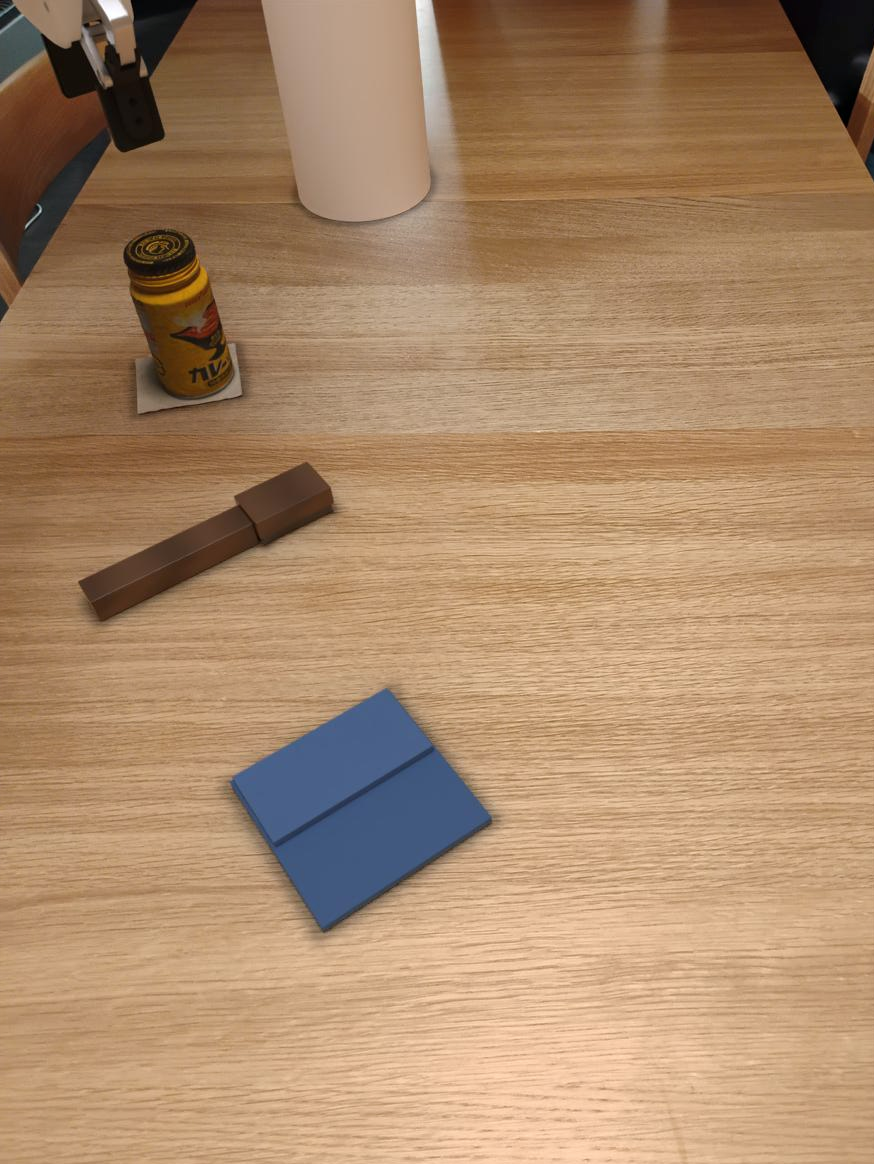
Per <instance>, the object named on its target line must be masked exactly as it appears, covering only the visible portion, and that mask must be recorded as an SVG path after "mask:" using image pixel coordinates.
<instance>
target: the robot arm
mask: <svg viewBox="0 0 874 1164" xmlns="http://www.w3.org/2000/svg"><path fill="white" fill-rule="evenodd" d="M11 1H12V3H13V5H14V6H15V8H16V9H17V10H18V11H19V13H20V14H22V15H23V16H24V17H25V18H26V19H27V20H28V21H29V22H30V23H31V24H32V25H33V26H34V27H35V28H36V29H37V30H38V31H39V32H40V34H39V35H40V38H41V40H42V43H43V46H44V49H45V51H46V54H47V57H48V59H49V62H50V66H51V68H52V70H53V74H54V76H55V79H56V82H57V85H58V87H59V90H60V93H61V94H62V95H63V97H65V98H66V99H68V100H71V99H74V98H77V97H80V96H84V95H87V94H90V93H94V92H96V95H97V96H98V97H97V98H98V99H99V102H100V106H101V109H102V112H103V114H104V117H105V120H106V124H107V127H108V130H109V132H110V135H111V139H112V141H113V144H114V146H115V148H116V149H117V150H118V151H119V152H120V153H123V154H125V153H128V152H131V151H134V150H137V149H140V148H143V147H146V146H149V145H152V144H154V143H158V142H160V141H162V140H164V138H165V136H166V132H165V128H164V126H163V122H162V118H161V114H160V113H159V112H160V111H159V108H158V104H157V101H156V98H155V94H154V91H153V87H152V84H151V81H150V78H149V72H148V68H147V66H146V63H145V61H144V59H143V56H142V54H143V52H142V50H141V49H140V46H141V45H140V43H138V42H136V33H135V28H134V27H135V26H134V18H135V17H134V11H133V7H132V3H131V0H11ZM98 20H100V21H101V22H98V23H96V24H92V25H90V23H91V22H96V21H98ZM107 41H108V42H109V44H107V45H104V52H103V54H104V58H103V56H102V54H101V52H100V50H99V47H98V46H97V45H98V44H101V43H104V42H107Z"/></svg>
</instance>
